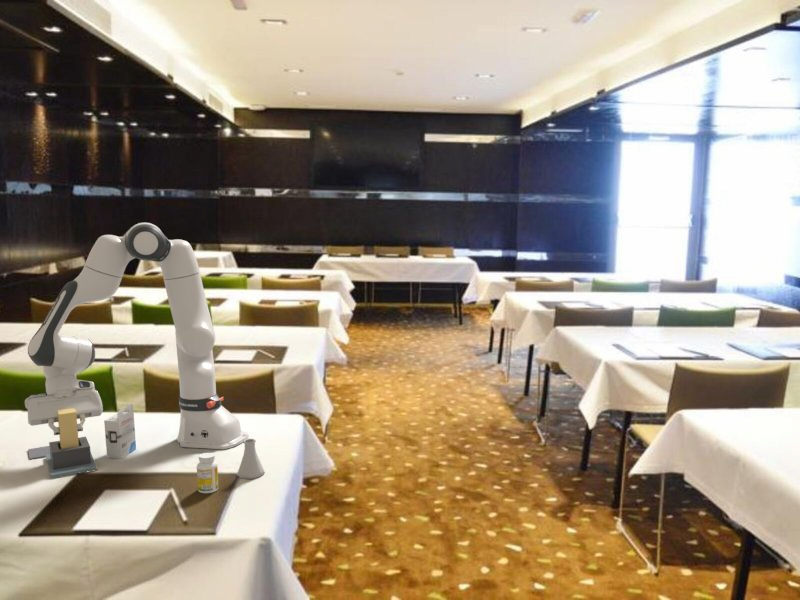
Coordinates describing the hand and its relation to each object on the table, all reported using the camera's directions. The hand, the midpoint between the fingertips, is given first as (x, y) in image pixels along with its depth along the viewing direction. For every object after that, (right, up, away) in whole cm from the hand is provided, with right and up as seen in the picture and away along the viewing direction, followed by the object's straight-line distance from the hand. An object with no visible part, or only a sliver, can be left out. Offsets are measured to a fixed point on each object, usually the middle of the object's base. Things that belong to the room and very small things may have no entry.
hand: (68, 432), depth 218 cm
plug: (0, -8, +2) cm, 8 cm away
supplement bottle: (+45, -12, -17) cm, 50 cm away
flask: (+54, -11, -7) cm, 56 cm away
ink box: (+12, -8, +10) cm, 18 cm away
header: (0, -10, +2) cm, 10 cm away
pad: (-12, -8, +12) cm, 19 cm away
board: (0, -10, +2) cm, 10 cm away
